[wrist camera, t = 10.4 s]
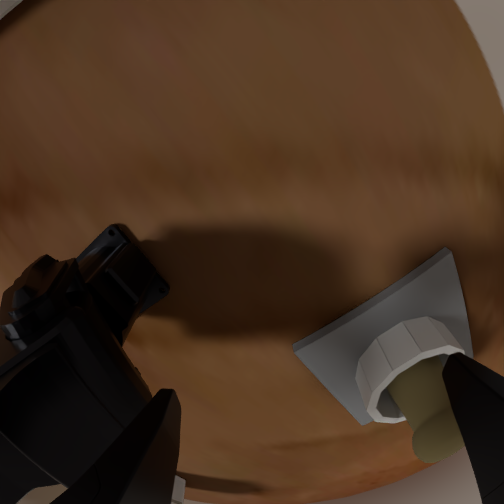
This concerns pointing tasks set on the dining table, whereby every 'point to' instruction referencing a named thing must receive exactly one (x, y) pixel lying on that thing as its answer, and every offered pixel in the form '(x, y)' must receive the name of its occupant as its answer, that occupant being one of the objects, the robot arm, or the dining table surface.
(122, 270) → the robot arm
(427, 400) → the cork
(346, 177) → the dining table surface
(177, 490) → the syrup box
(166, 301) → the dining table surface
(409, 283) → the cup stand
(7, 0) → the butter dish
